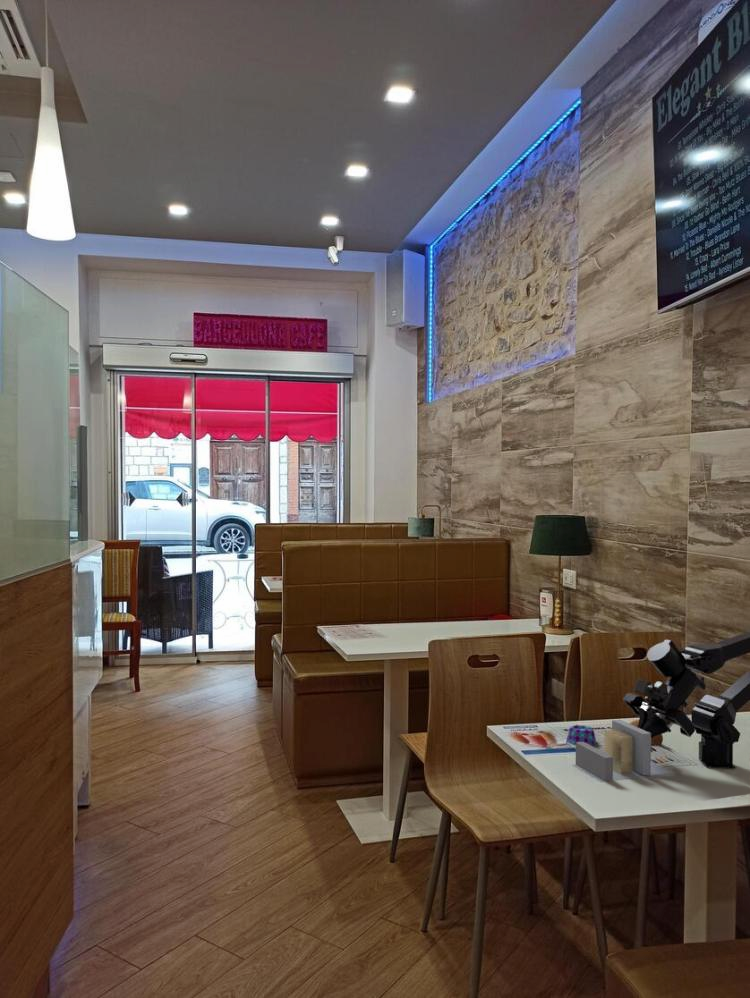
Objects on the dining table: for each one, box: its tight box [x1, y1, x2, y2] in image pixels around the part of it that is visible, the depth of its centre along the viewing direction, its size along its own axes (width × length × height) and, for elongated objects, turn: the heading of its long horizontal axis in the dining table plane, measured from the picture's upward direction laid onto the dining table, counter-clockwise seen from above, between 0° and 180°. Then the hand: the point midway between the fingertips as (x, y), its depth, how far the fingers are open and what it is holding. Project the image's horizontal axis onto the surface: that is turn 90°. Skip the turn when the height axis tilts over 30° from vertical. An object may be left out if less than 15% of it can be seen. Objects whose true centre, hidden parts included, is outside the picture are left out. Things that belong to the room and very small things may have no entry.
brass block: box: [604, 729, 633, 775], centre depth 167 cm, size 3×6×8 cm, turn 18°
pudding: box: [556, 724, 598, 747], centre depth 187 cm, size 12×12×5 cm
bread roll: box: [628, 719, 664, 748], centre depth 190 cm, size 10×10×8 cm
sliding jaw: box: [611, 719, 652, 775], centre depth 168 cm, size 2×11×9 cm, turn 18°
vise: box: [571, 742, 674, 783], centre depth 167 cm, size 19×11×6 cm, turn 108°
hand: (635, 741), depth 168 cm, fingers closed, pressing on sliding jaw
